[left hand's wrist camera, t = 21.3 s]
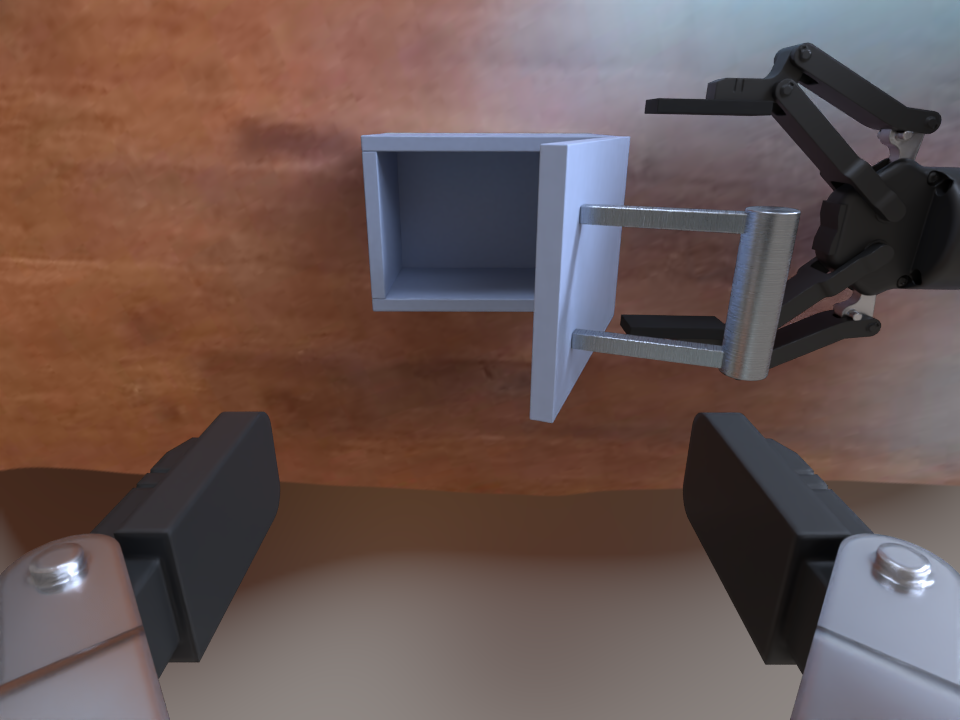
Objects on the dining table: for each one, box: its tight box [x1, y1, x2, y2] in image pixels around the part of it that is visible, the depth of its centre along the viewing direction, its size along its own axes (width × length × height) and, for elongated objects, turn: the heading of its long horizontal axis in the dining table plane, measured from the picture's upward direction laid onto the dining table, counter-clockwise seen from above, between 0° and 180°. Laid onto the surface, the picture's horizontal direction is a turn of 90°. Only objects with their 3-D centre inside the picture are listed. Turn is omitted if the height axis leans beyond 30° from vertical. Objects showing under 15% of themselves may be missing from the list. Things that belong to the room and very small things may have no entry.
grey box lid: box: [530, 136, 801, 423], centre depth 26 cm, size 15×10×8 cm
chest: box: [361, 133, 612, 312], centre depth 39 cm, size 14×10×9 cm
